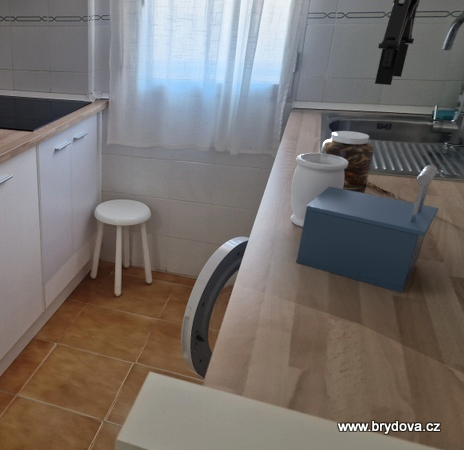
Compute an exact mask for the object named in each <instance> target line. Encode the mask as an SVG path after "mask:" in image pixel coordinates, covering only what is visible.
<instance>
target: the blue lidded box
mask: <svg viewBox="0 0 464 450" xmlns="http://www.w3.org/2000/svg"><path fill="white" fill-rule="evenodd" d="M300 235H301V236H300V240H299V245H298V251H297V257H296V262H295V263H296V264H299V265H303V266H306V267H310V268H314V269H317V270H320V271H325V272H328V273H331V274H334V275H337V276H341V277H345V278H347V279H352V280H356V281H359V282H363V283H366V284H370V285H372V286H376V287H380V288H383V289H386V290H390V291H394V292H397V293H401V294H402V293H403V292H404V290H405V287H406V286H407V284H408V282H409V280H410V277H411V275H412V274H413V272H414V270H415V267H416V266H417V264H418V260H419V256H420V254H421V249H422V246H423V242H424V239H425V236H421V235H416V234H412V233H407V232H403V231H399V230H394V229H390V228H385V227H381V226H377V225H372V224H368V223H363V222H359V221H355V220H350V219H346V218H341V217H337V216H333V215H328V214H324V213H319V212H315V211H311V210H306V214H305V219H304V224H303V227H302V230H301V234H300Z"/></svg>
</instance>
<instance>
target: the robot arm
mask: <svg viewBox="0 0 464 450" xmlns="http://www.w3.org/2000/svg"><path fill="white" fill-rule="evenodd" d="M420 1H421V0H393V1H392V9H391V12H390V15H389V19H388V23H387V25H386V29H385V33H384V36H383V39H382V41H381V42H379V43H378V47H377V48H378V49H380V50H381V53H380V58H379V63H378V68H377V72H376V76H375V81H374V84H376V85H385V86H391V85H392V83H393V78H394V77H399V78H400V77H402V74H403V70H404V67H405V63H406V59H407V58H406V57H407V54H408V50H409V45H410V44H411V45H413V44H414V41H415V38H413V31H414V24H415V20H416V15H417V11H418V7H419V4H420Z"/></svg>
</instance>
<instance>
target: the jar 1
mask: <svg viewBox="0 0 464 450" xmlns="http://www.w3.org/2000/svg"><path fill="white" fill-rule="evenodd" d="M295 162H296V164H297V165H296V167H295V169H294V172H293V176H292V180H291V187H290V191H291V192H290V193H291V195H290V196H291V197H290V205H291V209H292V212H293V214H292V215H291V216H290V221H291V223H293V224H294V225H296V226H298V227H300V228H303V224H304V219H305V214H306V210H307V209H306V208H307V205H308V204H310V203H311V202H312V201H313V200H314V199H315V198H317V197H318V196H319V195H320V194H321V193H322V192H323V191H325V190H326V189H327V188H328V187H329V186H330V187H335V188H340V189H343V186H344V169H345V168H346V167H347V166H348V161H347V160H346V159H344V158H342V157H339V156H335V155H330V154H323V153H321V152H306V153H305V152H304V153H301V154H300V153H299V154H297V155H296V158H295Z"/></svg>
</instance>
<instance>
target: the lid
mask: <svg viewBox="0 0 464 450" xmlns="http://www.w3.org/2000/svg"><path fill="white" fill-rule="evenodd" d="M437 173H438V168H437V166H435V165H433V164H428V165H425V167H424V168H422V170H421V172H420V173H419V174H418V175H417V177H416V183H417V185H419V187H418V191H417V195H416V198H415V201H414V202H409V201H406V200H401V199H395V198H390V197H385V196H379V195H375V194H370V193H360V192H355V191H350V190H345V189H340V188H335V187H330V186H329V187H328V188H327V189H326V190H325V191H323V192H322V193H321V194H320V195H319V196H318V197H317V198H315V199H314V200H313V201H312V202H311V203H310V204H308V205H307V208H306V209H307V210H311V211H315V212H319V213H324V214H328V215H333V216H337V217H341V218H346V219H350V220H355V221H359V222H363V223H368V224H372V225H377V226H381V227H385V228H390V229H394V230H399V231H403V232H407V233H412V234H416V235H421V236H424V237H425V236H426V234H427V233H428V230H429V228H430V227H431V225H432V223H433V221H434V219H435V218H436V216H437V214H438V212H439V208H438V207H437V206H436V207H435V206H431V205H424V203H425V200H426V196H427V194H428V193H427V192H428V189H429V185H430V184H431V182H432V181H433V179H434V178H435V176H436V175H437Z"/></svg>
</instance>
